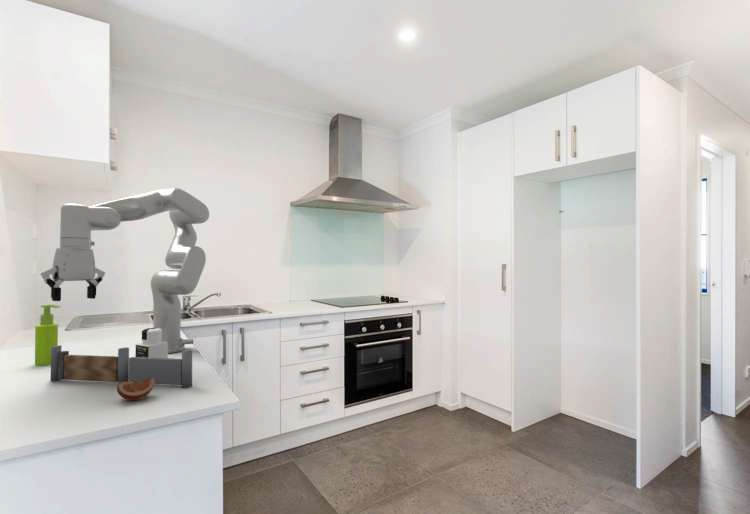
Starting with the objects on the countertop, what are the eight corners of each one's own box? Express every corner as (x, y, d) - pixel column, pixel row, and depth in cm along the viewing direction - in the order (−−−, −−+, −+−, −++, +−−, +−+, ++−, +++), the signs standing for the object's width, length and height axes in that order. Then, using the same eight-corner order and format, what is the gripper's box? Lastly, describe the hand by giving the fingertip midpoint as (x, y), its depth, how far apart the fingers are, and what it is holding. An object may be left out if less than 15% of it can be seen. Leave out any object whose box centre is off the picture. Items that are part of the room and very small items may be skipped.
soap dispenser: (50, 365, 130) (51, 305, 130) (30, 365, 130) (30, 305, 130) (64, 361, 135) (65, 304, 136) (45, 361, 136) (46, 304, 136)
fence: (193, 385, 109) (194, 349, 109) (188, 388, 107) (188, 351, 107) (56, 378, 115) (56, 345, 115) (47, 381, 112) (48, 347, 112)
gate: (120, 380, 112) (120, 352, 112) (115, 382, 110) (115, 354, 110) (63, 378, 114) (63, 350, 114) (57, 379, 112) (58, 352, 112)
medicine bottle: (134, 364, 131) (135, 329, 131) (155, 360, 137) (155, 326, 138) (147, 367, 128) (148, 331, 128) (168, 362, 134) (168, 327, 134)
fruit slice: (153, 392, 103) (153, 374, 103) (157, 400, 98) (157, 380, 98) (115, 399, 98) (116, 379, 98) (117, 407, 93) (118, 386, 93)
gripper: (97, 245, 129) (96, 297, 129) (35, 243, 114) (33, 301, 113) (111, 245, 126) (110, 298, 126) (50, 242, 111) (48, 302, 110)
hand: (74, 299), depth 120 cm, fingers open, 9 cm apart
